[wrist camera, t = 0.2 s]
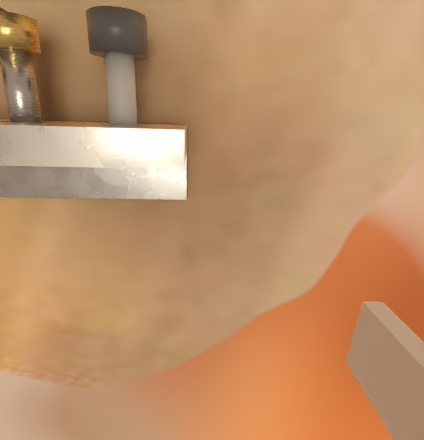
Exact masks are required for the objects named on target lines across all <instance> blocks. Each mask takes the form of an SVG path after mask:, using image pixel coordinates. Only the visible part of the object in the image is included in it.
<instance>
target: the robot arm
mask: <svg viewBox="0 0 424 440" xmlns="http://www.w3.org/2000/svg"><path fill="white" fill-rule="evenodd" d="M345 362H346V363H347V365H348V367H349V368H350V370H351V372H352V373H353V375H354V376H355V378H356V379H357V381H358V383H359V384H360V386H361V388H362V389H363V391H364V393H365V394H366V396H367V397H368V399H369V400H370V402H371V404H372V405H373V407H374V408H375V410H376V412H377V413H378V415H379V417H380V418H381V420H382V421H383V423H384V425H385V426H386V428H387V429H388V431H389V433H390V434H391V436H392V438H393V439H394V440H424V342H423V341H421V339H420V338H419V337H418V336H417V335H416V334H415V333H414V332H413V331H412V330H411V329H409V327H408V326H407V325H406V324H405V323H403V322H402V321H401V320H400V319H399V318H398V317H397V316H396V315H395V314H394V313H393V312H392V311H391V310H390V309H389V308H388V307H387V306H386V305H385V304H384V303H383V302H365V301H363V302H362V306H361V309H360V313H359V316H358V319H357V323H356V327H355V330H354V334H353V337H352V340H351V344H350V347H349V351H348V354H347V358H346V361H345Z"/></svg>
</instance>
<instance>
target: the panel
mask: <svg viewBox="0 0 424 440" xmlns="http://www.w3.org/2000/svg"><path fill="white" fill-rule="evenodd" d="M137 124H138V126H126V125H110V124H109V123H108V122H75V121H42V123H25V122H10V120H9V119H0V197H28V198H105V199H183V200H186V198H187V125H174V124H141V123H137Z"/></svg>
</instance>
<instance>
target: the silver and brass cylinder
mask: <svg viewBox="0 0 424 440" xmlns="http://www.w3.org/2000/svg"><path fill="white" fill-rule="evenodd" d="M40 53H41V49H40V42H39V35H38V27H37V22H36V20H34V19H32V18H30V17H27V16H24V15H20V14H16V13H10V12H7V11H5V10H4V9H2V8H0V66H1V72H2V77H3V83H4V89H5V94H6V100H7V105H8V111H9V117H10V122H25V123H42V116H41V109H40V102H39V96H38V89H37V82H36V75H35V68H34V61H33V54H40Z"/></svg>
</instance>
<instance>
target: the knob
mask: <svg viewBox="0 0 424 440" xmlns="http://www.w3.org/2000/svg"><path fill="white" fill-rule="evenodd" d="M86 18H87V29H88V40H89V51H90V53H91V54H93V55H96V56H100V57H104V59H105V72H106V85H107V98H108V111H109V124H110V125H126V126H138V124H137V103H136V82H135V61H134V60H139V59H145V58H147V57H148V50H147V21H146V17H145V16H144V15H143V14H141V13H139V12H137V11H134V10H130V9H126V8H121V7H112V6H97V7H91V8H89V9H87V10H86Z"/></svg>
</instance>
